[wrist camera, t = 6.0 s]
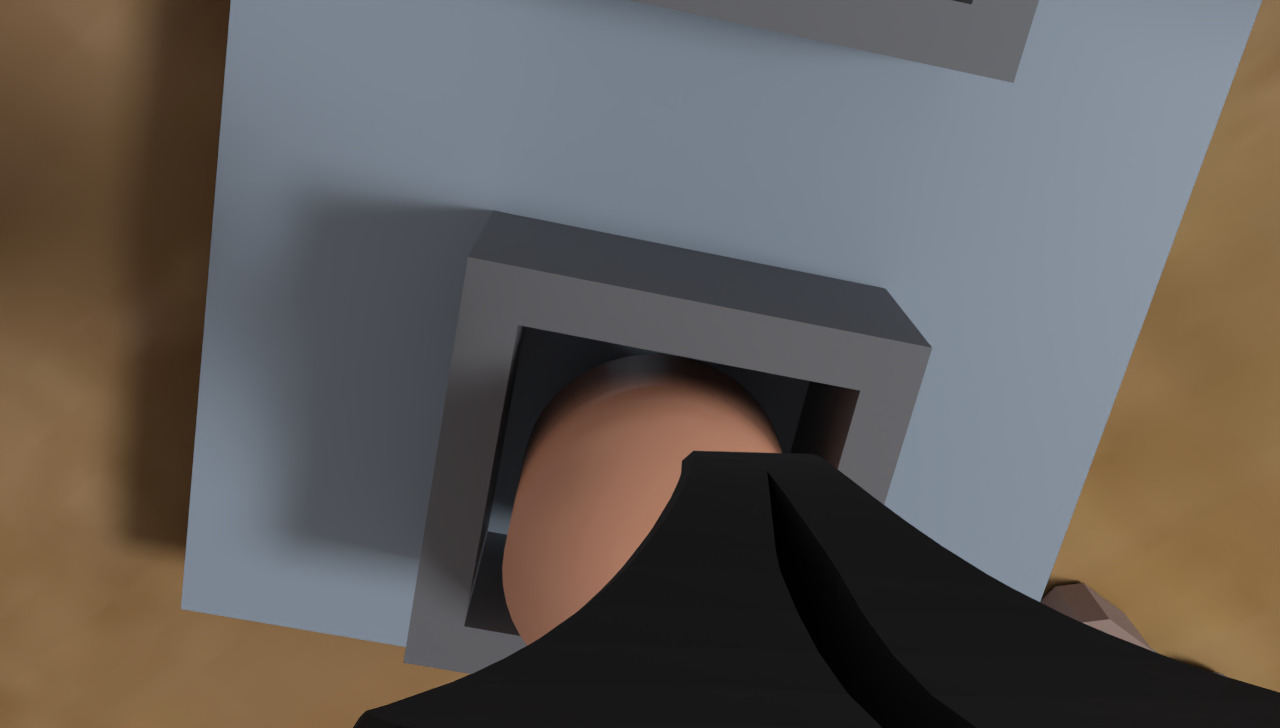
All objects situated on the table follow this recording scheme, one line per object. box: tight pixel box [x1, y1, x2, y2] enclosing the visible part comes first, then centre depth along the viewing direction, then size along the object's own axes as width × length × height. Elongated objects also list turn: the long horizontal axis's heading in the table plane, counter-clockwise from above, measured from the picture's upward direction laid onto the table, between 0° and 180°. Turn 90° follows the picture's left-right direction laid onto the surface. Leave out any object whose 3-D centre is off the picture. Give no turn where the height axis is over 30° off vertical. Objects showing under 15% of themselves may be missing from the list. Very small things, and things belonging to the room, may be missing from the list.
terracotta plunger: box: [502, 354, 783, 645], centre depth 16 cm, size 4×4×3 cm
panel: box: [181, 0, 1262, 674], centre depth 17 cm, size 15×20×5 cm
